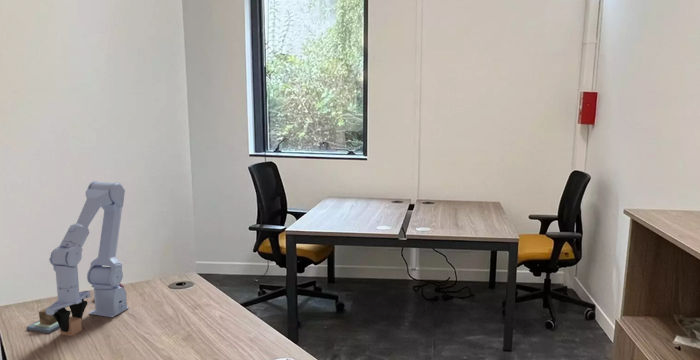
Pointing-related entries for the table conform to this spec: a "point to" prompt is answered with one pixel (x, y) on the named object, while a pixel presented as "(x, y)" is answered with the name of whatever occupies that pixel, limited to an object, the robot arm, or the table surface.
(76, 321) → the terracotta cube
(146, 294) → the table surface
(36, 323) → the baseplate
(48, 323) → the brass cube
